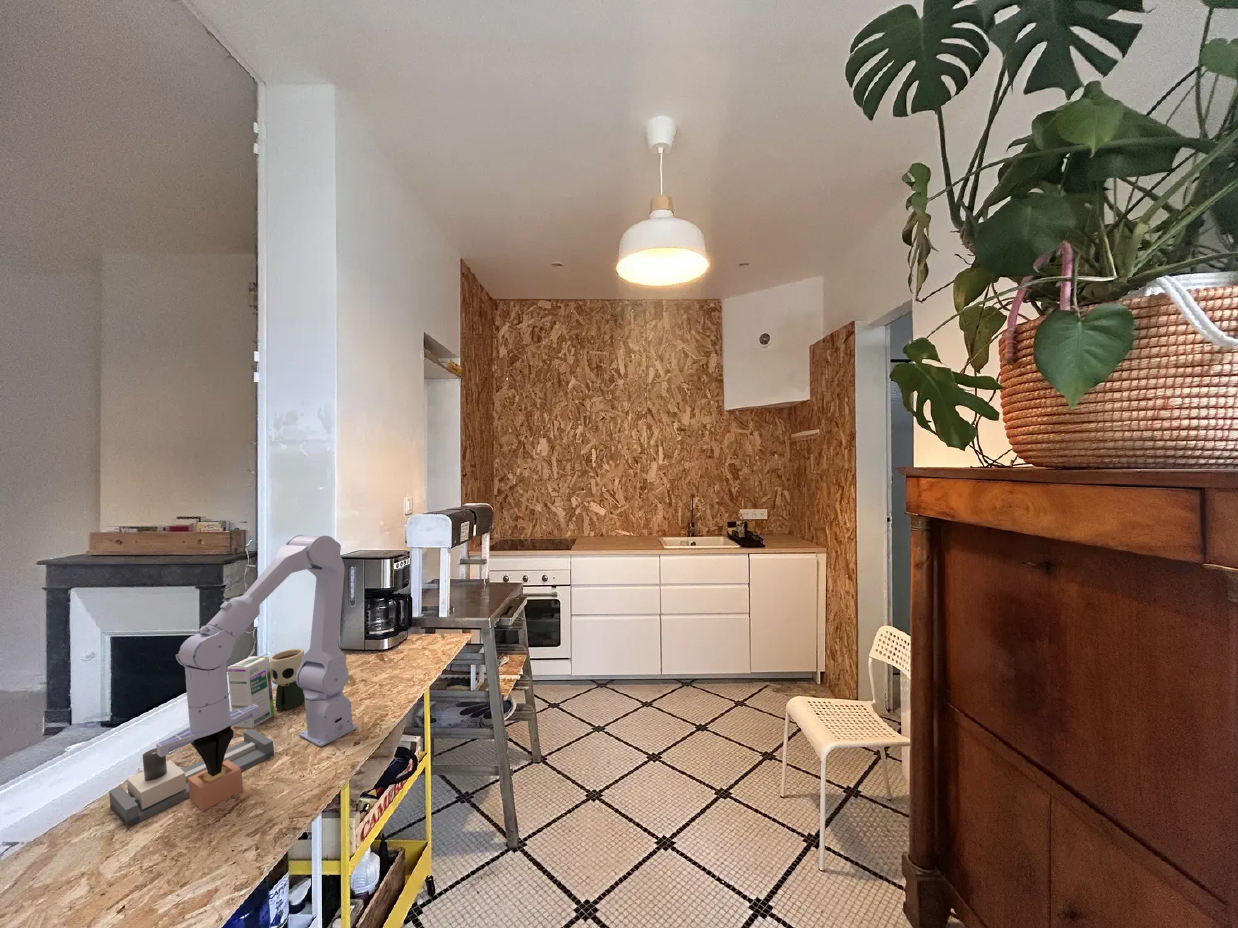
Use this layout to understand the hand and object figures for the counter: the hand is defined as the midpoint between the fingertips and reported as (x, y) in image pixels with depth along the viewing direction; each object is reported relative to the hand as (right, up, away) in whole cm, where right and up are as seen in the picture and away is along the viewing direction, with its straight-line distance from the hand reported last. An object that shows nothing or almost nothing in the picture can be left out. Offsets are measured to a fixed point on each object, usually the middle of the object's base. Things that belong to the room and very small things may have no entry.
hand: (214, 772), depth 90 cm
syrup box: (-12, -4, +26) cm, 29 cm away
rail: (-7, -4, +5) cm, 10 cm away
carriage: (-11, -3, 0) cm, 11 cm away
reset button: (0, -3, 0) cm, 3 cm away
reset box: (0, -4, 0) cm, 4 cm away
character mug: (-8, -4, +32) cm, 34 cm away
